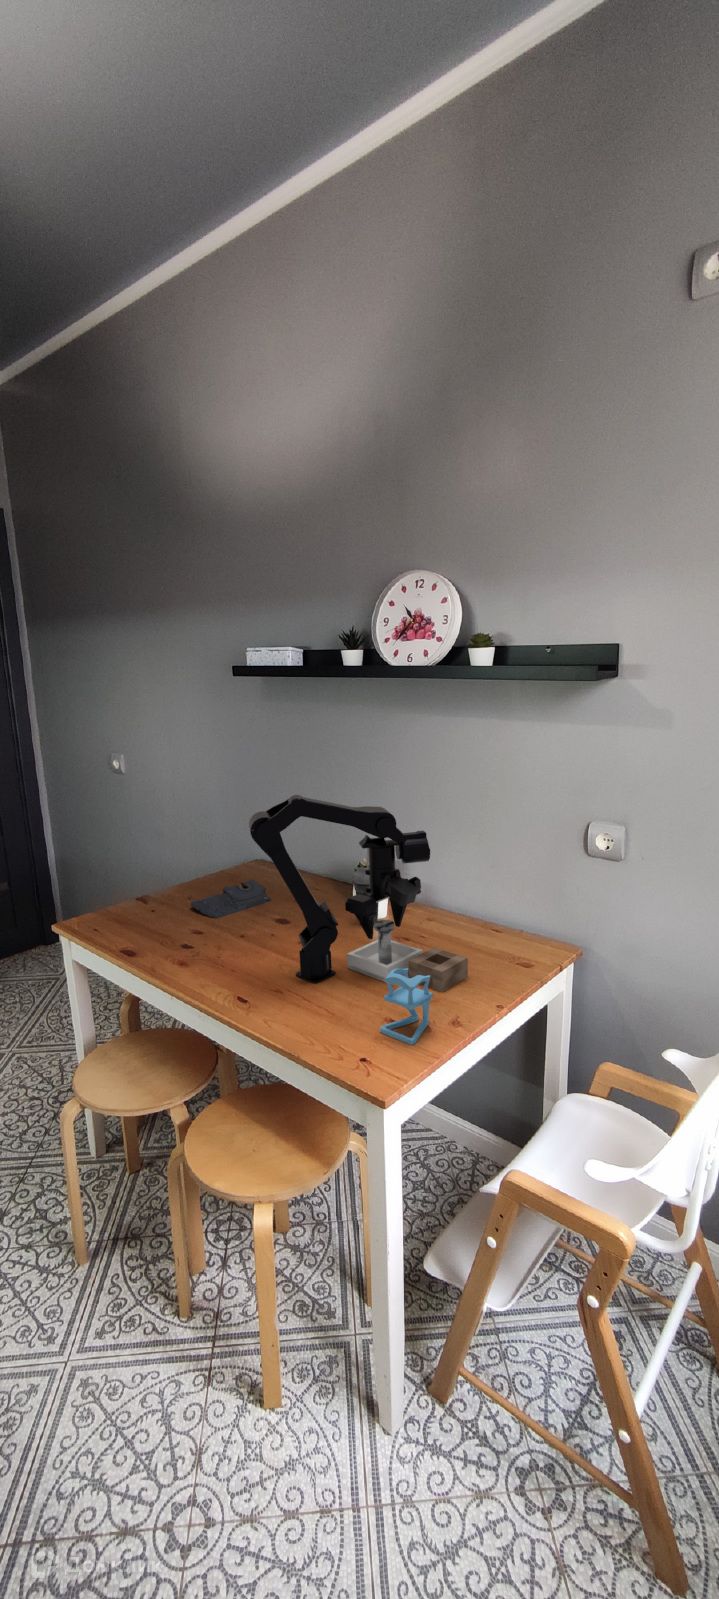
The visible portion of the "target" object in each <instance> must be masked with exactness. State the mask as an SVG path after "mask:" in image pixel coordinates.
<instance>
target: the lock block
mask: <svg viewBox="0 0 719 1599" xmlns="http://www.w3.org/2000/svg"><path fill="white" fill-rule="evenodd" d="M468 960H469V959H468V957H467V956H464V955H460V954H458V953H457V954H456V953H453V952H450V951H447V950H444V949H441V948H438V947H432V948H429V949H428V950H426V951H423V953H422V954H420V955H418V956H416V957H414V958H412V959H410V960H408V966H409V972H408V978H413V977H415V976H417V975H422V976H428V975H430V980H429V984H428V988H430V989H433V990H434V991H438V992H440V993H443V992H445V991H446V990H448V989H451V988H452V987H454V986H456V985H457V984H459V983H460V982H462V981H464V980H466V979H467V978H468V977H469V975H468V974H469V973H468V972H469V971H468V970H469V969H468V967H469V966H468V963H469V961H468ZM425 982H426V981H423V982H421V983H420V984H419V985H422V986H424V984H425Z"/></svg>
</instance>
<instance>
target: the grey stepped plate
mask: <svg viewBox="0 0 719 1599" xmlns="http://www.w3.org/2000/svg"><path fill="white" fill-rule="evenodd" d="M240 884H241V885H237V884H233V885H231V886H225V887H223V888H222V893H221V894H220V893H217V894H213V895H211V896H206V897H204V898H201V899H196V900H195V899H194V900H193V901H191V902H190V907H192V908H193V909H195V910H197V911H199V912H200V913H201V914H203V915H205V916H206V917H209V918H212V919H220V918H223V917H226V916H228V915H233V914H235V913H238V912H239V913H240V912H242V911H244V910H245V911H246V910H248V909H251V908H254V907H257V906H260V905H263V904H266V903H265V902H267V903H269V902H272V899H271V897H269V896H267V895H268V894H267V895H266V894H265V893H266V890H267V888H266V887H265V886H264V885H262V884H260V883H259V882H256V881H255V879H249V880H247V881H244V882H240Z"/></svg>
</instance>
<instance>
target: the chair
mask: <svg viewBox="0 0 719 1599" xmlns="http://www.w3.org/2000/svg"><path fill="white" fill-rule="evenodd" d="M400 974H404V975H400ZM385 979H386V982H387V983H386V982H385V983H386V985H387V988H388V993H387V994H385V995H384V996H383V1001H385V1002H387V1003H392V1004H395V1005H398V1006H401V1007H402V1008H403V1009H406V1010H408V1012H409V1015H410V1016H408V1017H405V1018H402V1019H399V1020H398V1019H397V1020H396V1021H393V1022H390V1023H387V1024H384V1025H382V1026H380V1028H379V1029H380V1033H382V1035H383V1034H384V1035H385V1036H388V1037H391V1038H392V1039H396V1040H398V1041H401V1042H403V1043H406V1044H409V1045H411V1046H414V1045H415V1044H416V1042H418V1040H419V1038H420V1037H421V1035H422V1034H423V1032H424V1031H425V1029H426V1028H427V1027H428V1026H429V1024H430V1016H429V1014H430V1003H431V1000H432V998H434V997H433V996H434V993H433V992H431V991H430V990H429V987H428V984H429V980H430V975H428V976H422V975H417V976H415V977H413V978H409V972H408V968H406V969H393V970H392V971H391V972H390V973H389V974H388V975H387V977H386V978H385ZM423 981H426V982H425V984H424V985H423V988H422V989H421V988H418V987H419V985H421V984H420V983H421V982H423ZM392 985H396V986H399V987H398V988H397V989H395V990H394V988H393V986H392ZM418 1007H422V1018H421V1021H420V1022H419V1025H418V1027H417V1028H416V1030H415V1032H414V1033H413V1035H412V1037H408V1036H406V1035H404V1034H401V1033H400V1032H396V1031H395V1030H392V1029H396V1028H400V1027H403V1026H406V1025H409V1024H413V1023H415V1022H417V1021H418V1020H419V1014H418V1013H417V1011H416V1008H418Z"/></svg>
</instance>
